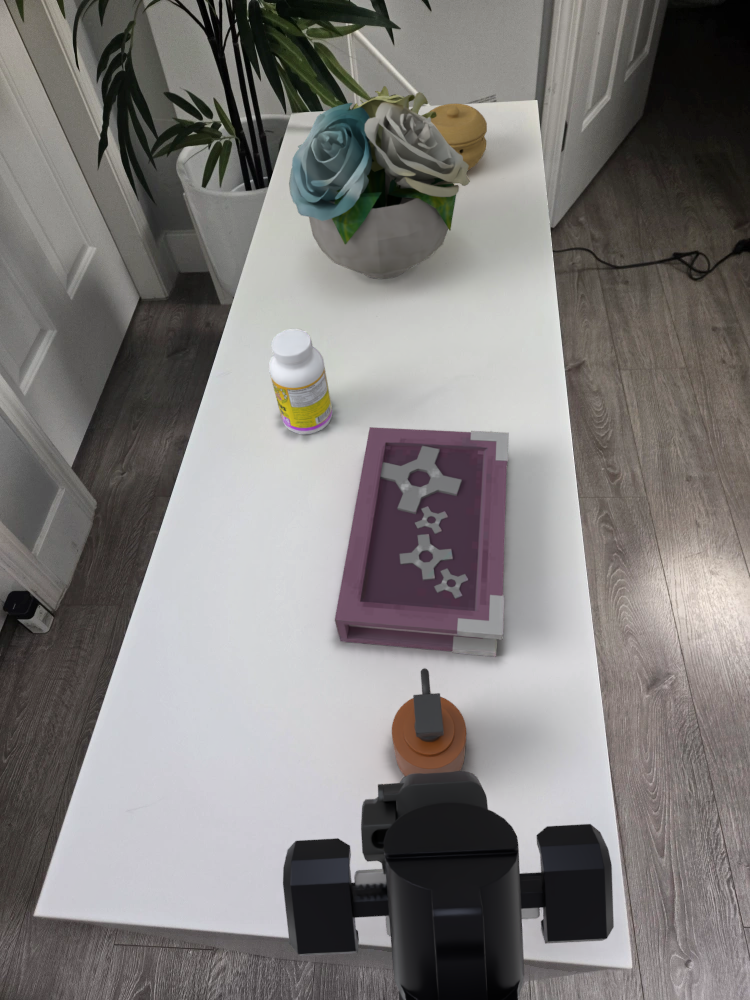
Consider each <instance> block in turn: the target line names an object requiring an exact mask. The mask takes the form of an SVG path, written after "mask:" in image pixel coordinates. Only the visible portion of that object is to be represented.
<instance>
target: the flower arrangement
mask: <svg viewBox="0 0 750 1000" xmlns="http://www.w3.org/2000/svg"><path fill="white" fill-rule="evenodd" d="M374 92H375V93H377V96H371V97H370V98H369V99H368V100H367V101H365V102H364V101H363V100H362V99H359V101H360V102H361V104H359V105H358V103H357V102H356V103H353V102H348V103H343V104H339V105H336V106H334V107H330V108H329V109H327V110H325V111H323V113H320V114H319V115H317V116H316V118H315V120H314V122H313V125H312V127H311V129H310V131H309V133H308V135H307V137H306V139H305V140H304V141H303V143H301V144H299V145H297V148H298V149H297V150H296V152H295V153H294V155H293V157H292V161H291V169H290V173H289V181H288V186H289V194H290V197H291V199H292V202H293V204H295V206H296V209H297V212H298V214H299V215H300V216H302V217H308V218H309V219H308V220H309V225H310V230H311V233H312V237H313V238H314V240H315V242H316V243H317V245H318V247H319V249H320V250H321V252H323V254H325V256H327V257H328V259H330V261H332V263H334V264H336V265H339V266H341V267H343V268H346V269H349V270H351V271H353V272H357V273H359V274H361V275H364V276H366V277H369V278H372V279H376V280H387V279H392V278H397V277H399V276H401V275H403V274H404V273H406V271H408V270H409V269H411V268H413V267H415V266H417V265H420V264H422V263H423V262H425V261H426V260H428V259H430V257H431V256H433V254H435V253H436V251H437V250H438V249H439V248H440V247H441V246H443V245H444V242H445V239H446V236H447V235H448V234H447V233H448V231H451V230H452V229H451V228H452V224H453V217H454V211H455V205H456V199H457V194H458V193H459V190H460V185H461V186H462V187H466V186H468V185H470V183H471V179H470V178H469V177H468V174H467V173H468V171H469V170H468V167H469V165H468V164H467V163H466V162H464V161H463V157H462V155H460V154H458V153H457V152H456V151H455V150H454V149H453V148H452V147H451V146H450V145H449V144H448V143H447V142H446V140H445V139H444V137H443V136H442V135H441V133H440V132H439V130H438V129H437V128H436V126H435V125H434V124H433V123H432V122H431V118H435V117H436V116H437V114H436V112H429V111H428V112H426V113H424V114H419V112H420V110H421V108H422V106H423V105H428V104H429V101H428V99H427V97H426V95H425V94H424V93H423V92H421V91H418V92H416V94H415V95H414V94H408V95H406V96H403V95H400V94H395V93H394V94H391V95H390V93H389V90H388V88H387V86H386V85H383V87H382V89H381V90H380V91H379V90H375V91H374ZM410 102H413V105H412V107H411V108H410ZM353 104H354V105H353ZM352 105H353V106H352ZM351 106H352V108H351ZM350 108H351V109H350ZM459 184H460V185H459Z"/></svg>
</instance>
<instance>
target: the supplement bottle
mask: <svg viewBox="0 0 750 1000" xmlns="http://www.w3.org/2000/svg"><path fill="white" fill-rule="evenodd" d="M270 347H271V351H272V356H271V358H270V359H269V363H268V371H269V377H270V379H271V383H272V387H273V391H274V394H275V398H276V402H277V406H278V409H279V413H280V417H281V421H282V423H283V425H284V426H285V427H286V429H288V430H289V431H291V432H293V433H295V434H300V435H311V434H315V433H317V432H319V431H322V430H323V429H324V428H326V427H327V426H328V425H329V423H330V422H331V420H332V418H333V413H334V411H333V404H332V398H331V393H330V389H329V383H328V378H327V373H326V366H325V361H324V357H323V355H322V353H321V351H319V350H318V348H316V347H315V346H314V345H313V342H312V337H311V336H310V334H309V333H308V332H307V331H305V330H303V329H300V328H287V329H284V330H282V331H280V332H278V333H277V334H275V336H274V337H273V338H272V339H271V344H270Z"/></svg>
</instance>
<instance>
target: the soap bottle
mask: <svg viewBox="0 0 750 1000" xmlns="http://www.w3.org/2000/svg"><path fill="white" fill-rule="evenodd" d="M440 699H441V709H442V720H443V730H444V735H443V736H428V737H416V726H415V712H414V699H413V697H412V698H409V700H407V701H405V702H404V703H403V704H402V705H401V706H400V707H399V709H398V710H397V712H396V713H395V715H394V718H393V721H392V725H391V737H392V738H391V739H392V745H393V751H394V755H395V760H396V763H397V766H398V768H399V771H400V772H401V774H402V775H403V776H404V777H405V776H407V775H409V774H416V773H422V774H426V773H443V772H454V771H462V768H463V767H464V766H463V765H464V762H465V756H466V744H467V724H466V721H465V718H464V716H463V714H462V713H461V711H460V709H459V708H458V707H457V706H456V705H455V704H454V703H453V702H451V700H448V699H447V698H445V697H442V696H440Z"/></svg>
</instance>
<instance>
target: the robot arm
mask: <svg viewBox="0 0 750 1000" xmlns="http://www.w3.org/2000/svg"><path fill="white" fill-rule="evenodd" d="M360 821H361V822H360V834H361V849H362V850H361V853H362V856H363V858H364V860H365V861H366V862H379V863H380V864H381V868H374V869H373V868H372V869H357V870H356V871H355V872H354V876H353V878H354V879H353V880H354V882H353V881H352V873H351V859H352V858H351V857H352V849H351V845H349V844H348V843H347V842H345V841H343V840H341V839H340V838H338V837H337V838H335V837H334V838H321V839H320V838H319V839H318V838H317V839H302V840H301V839H300V840H295V841H294V842H293V843H292V844H291V845H290V847H288V848H287V850H286V854H285V859H284V863H283V868H282V869H283V870H282V889H283V896H284V897H283V898H284V905H285V907H284V908H285V915H286V924H287V925H286V926H287V933H288V942H289V943H288V944H289V945H290V947H291V948H292V949H293V950H294V951H295V953H296V954H297V955H299V956H300V957H308V956H309V957H310V956H329V955H347V954H348V955H349V954H351V955H352V954H359V943H360V937H359V930H358V929H357V924H356V918H371V917H373V918H374V917H385V931H386V935H387V936H388V937H390V947H391V957H392V970H393V971H392V972H393V979H394V982H395V985H396V987H397V989H398V1000H519V997H520V995H521V990H522V988H523V983H524V979H525V960H524V957H525V956H524V939H523V937H524V935H523V920H534V919H535V920H536V919H538V918H540V914H541V909H542V917H543V918H542V920H540V931H541V935H542V937H543V942H544V944H546V945H547V944H566V943H584V942H585V943H586V942H602V941H603V942H604V941H605V940H607V939H608V938H609V936H610V935H611V933H612V931H613V929H614V927H615V921H614V895H613V894H614V891H613V866H612V860H611V856H610V851H609V847H608V846H607V843H606V842H605V839H604V837H603V835H602V833H601V831H600V830H599V829H598V828H597V827H595V826H594V825H593V824H591V823H581V824H580V823H579V824H566V825H565V824H564V825H548V826H545V827H544V828H543V829H542V830H541V831H539V832H538V833H537V834H536V846H537V849H538V852H539V859H540V871H537V872H522V873H521V871H520V870H521V869H520V849H519V848H520V847H519V840H518V839H519V838H518V835H517V832H516V831H515V830H514V827H513V826H512V825H511V824H510V823H509V822H508V821H507V820H506V818H504V817H503V816H501V815H499V814H497V813H496V812H495V811H494V810H493V811H492V810H490V809H489V807H488V798H487V794H486V791H485V790H484V787H483V785H482V783H481V781H480V779H479V778H478V777H477V776H476V774H474V773H473V772H471V771H468V770H460V771H454V772H443V773H426V774H422V773H416V774H409V775H407V776H404V777H403V778H402V779H401V780H400V781H399V782H393V783H378V784H377V797H376V798H368V799H367V798H366V799H364V800H363V801H362V805H361V820H360Z"/></svg>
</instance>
